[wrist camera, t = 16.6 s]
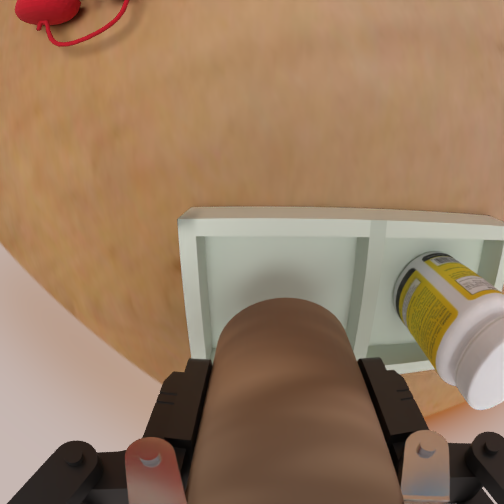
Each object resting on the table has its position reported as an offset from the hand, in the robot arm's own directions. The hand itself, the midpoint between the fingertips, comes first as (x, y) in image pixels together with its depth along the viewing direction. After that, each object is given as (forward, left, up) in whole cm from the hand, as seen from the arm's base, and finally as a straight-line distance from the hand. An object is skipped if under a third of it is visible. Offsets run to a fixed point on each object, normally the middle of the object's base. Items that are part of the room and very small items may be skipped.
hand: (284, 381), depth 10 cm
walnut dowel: (0, 0, -1) cm, 1 cm away
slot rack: (-4, 0, -8) cm, 9 cm away
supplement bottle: (-9, 0, -7) cm, 12 cm away
